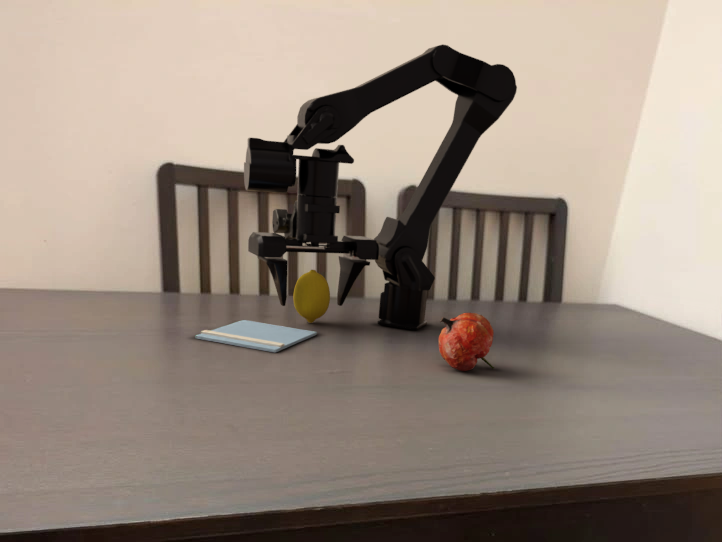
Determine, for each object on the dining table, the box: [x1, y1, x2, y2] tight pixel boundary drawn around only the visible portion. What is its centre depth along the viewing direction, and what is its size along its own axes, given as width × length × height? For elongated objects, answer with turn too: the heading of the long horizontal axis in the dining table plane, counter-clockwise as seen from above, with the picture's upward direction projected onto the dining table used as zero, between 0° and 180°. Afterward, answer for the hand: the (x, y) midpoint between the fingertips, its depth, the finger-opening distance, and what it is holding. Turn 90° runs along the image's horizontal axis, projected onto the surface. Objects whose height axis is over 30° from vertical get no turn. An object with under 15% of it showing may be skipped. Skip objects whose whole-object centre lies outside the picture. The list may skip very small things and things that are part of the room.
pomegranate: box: [438, 312, 495, 372], centre depth 93 cm, size 7×7×10 cm
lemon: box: [292, 269, 331, 324], centre depth 110 cm, size 6×6×8 cm
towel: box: [194, 319, 318, 354], centre depth 101 cm, size 12×13×1 cm
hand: (311, 305), depth 111 cm, fingers open, 9 cm apart
